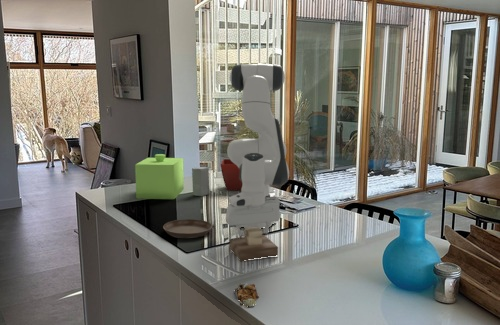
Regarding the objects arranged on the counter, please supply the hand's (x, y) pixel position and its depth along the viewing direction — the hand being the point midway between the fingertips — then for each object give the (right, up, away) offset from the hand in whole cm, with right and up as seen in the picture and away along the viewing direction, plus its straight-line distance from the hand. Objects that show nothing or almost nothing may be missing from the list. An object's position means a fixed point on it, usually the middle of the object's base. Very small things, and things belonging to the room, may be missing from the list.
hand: (253, 234), depth 168 cm
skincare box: (-29, +8, +93) cm, 98 cm away
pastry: (-2, -14, -35) cm, 37 cm away
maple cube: (0, -3, 0) cm, 3 cm away
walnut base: (0, -7, +1) cm, 7 cm away
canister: (-53, +8, +95) cm, 109 cm away
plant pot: (-9, +11, +110) cm, 111 cm away
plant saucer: (-28, -4, +25) cm, 37 cm away
